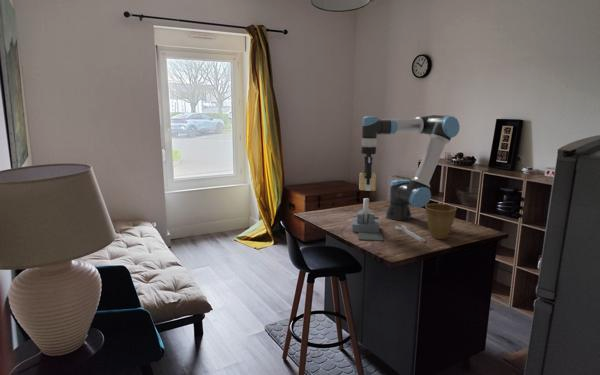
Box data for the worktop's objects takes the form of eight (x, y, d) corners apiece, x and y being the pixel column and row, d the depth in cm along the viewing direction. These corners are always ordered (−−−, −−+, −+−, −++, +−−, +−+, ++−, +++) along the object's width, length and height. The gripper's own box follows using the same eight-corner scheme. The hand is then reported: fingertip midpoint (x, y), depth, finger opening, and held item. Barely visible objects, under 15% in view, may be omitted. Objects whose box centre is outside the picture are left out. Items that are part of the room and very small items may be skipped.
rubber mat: (381, 234, 203) (381, 233, 203) (383, 241, 192) (383, 240, 192) (358, 233, 204) (358, 232, 204) (359, 240, 193) (359, 239, 193)
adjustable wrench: (426, 243, 192) (426, 239, 191) (414, 244, 191) (414, 240, 190) (403, 227, 216) (403, 224, 215) (392, 228, 215) (393, 225, 214)
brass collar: (373, 187, 210) (374, 173, 208) (375, 190, 202) (376, 175, 201) (359, 187, 211) (359, 172, 209) (359, 190, 203) (360, 175, 201)
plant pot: (437, 230, 210) (440, 202, 206) (460, 239, 197) (463, 208, 193) (417, 234, 203) (419, 205, 200) (438, 243, 190) (441, 212, 187)
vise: (376, 226, 216) (378, 197, 212) (378, 232, 205) (380, 201, 202) (351, 225, 217) (352, 196, 214) (352, 231, 206) (353, 200, 203)
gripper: (360, 144, 212) (358, 184, 217) (362, 148, 192) (361, 192, 197) (374, 144, 212) (372, 185, 216) (378, 148, 191) (375, 193, 196)
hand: (367, 188), depth 207 cm, fingers closed on brass collar, 8 cm apart
